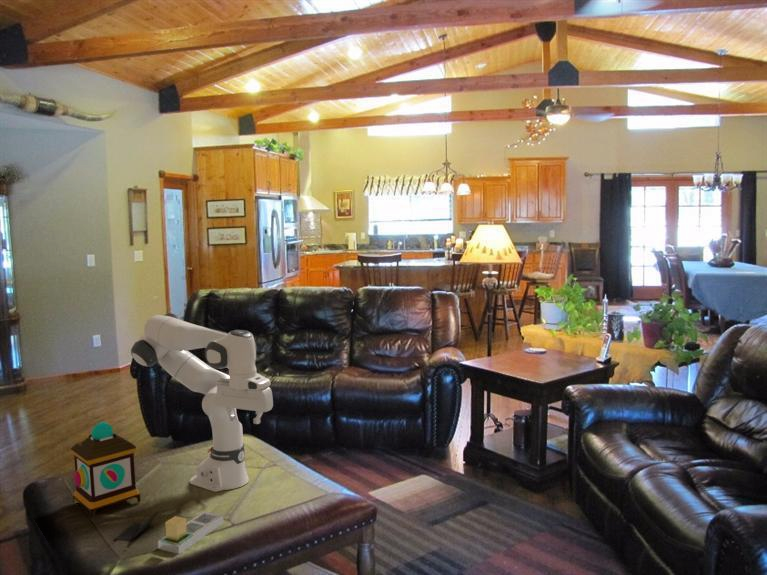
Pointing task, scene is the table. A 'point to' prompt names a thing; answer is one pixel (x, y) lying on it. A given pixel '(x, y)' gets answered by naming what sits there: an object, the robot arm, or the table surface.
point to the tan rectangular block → (176, 529)
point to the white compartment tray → (193, 532)
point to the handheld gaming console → (134, 530)
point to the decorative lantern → (104, 469)
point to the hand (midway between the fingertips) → (244, 421)
